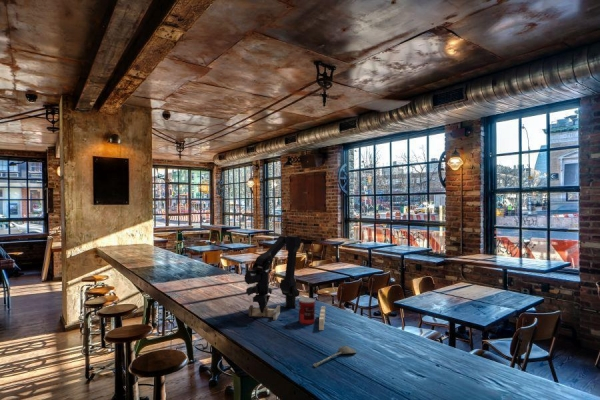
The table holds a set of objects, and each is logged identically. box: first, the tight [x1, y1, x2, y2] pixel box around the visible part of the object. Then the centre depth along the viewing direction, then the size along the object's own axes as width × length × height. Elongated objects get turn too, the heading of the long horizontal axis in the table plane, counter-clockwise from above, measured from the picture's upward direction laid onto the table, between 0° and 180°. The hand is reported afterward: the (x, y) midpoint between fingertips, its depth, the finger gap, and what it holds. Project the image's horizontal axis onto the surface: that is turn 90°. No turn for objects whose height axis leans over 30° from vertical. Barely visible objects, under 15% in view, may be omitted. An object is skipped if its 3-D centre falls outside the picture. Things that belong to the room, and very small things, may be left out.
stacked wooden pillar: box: [248, 304, 281, 321], centre depth 182 cm, size 15×12×4 cm
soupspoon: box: [312, 345, 357, 368], centre depth 133 cm, size 22×3×7 cm
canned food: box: [298, 297, 316, 326], centre depth 173 cm, size 8×8×11 cm
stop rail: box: [318, 305, 326, 331], centre depth 172 cm, size 20×2×5 cm, turn 174°
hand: (262, 311), depth 182 cm, fingers open, 4 cm apart
